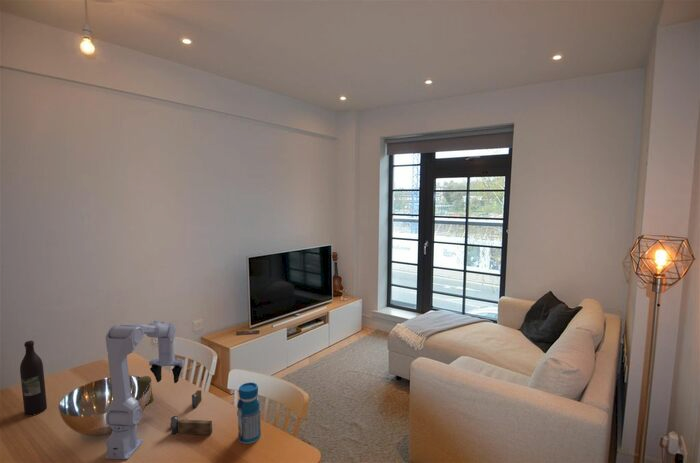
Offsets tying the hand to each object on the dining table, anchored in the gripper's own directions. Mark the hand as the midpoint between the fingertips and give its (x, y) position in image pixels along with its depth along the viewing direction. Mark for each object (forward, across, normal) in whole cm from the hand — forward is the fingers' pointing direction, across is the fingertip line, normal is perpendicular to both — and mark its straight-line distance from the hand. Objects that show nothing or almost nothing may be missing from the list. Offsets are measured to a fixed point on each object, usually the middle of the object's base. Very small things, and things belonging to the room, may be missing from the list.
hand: (167, 381), depth 156 cm
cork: (+10, +11, 0) cm, 15 cm away
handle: (+10, -20, +17) cm, 29 cm away
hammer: (+10, -12, +8) cm, 17 cm away
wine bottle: (+10, +52, +10) cm, 53 cm away
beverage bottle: (+10, -42, +18) cm, 47 cm away
